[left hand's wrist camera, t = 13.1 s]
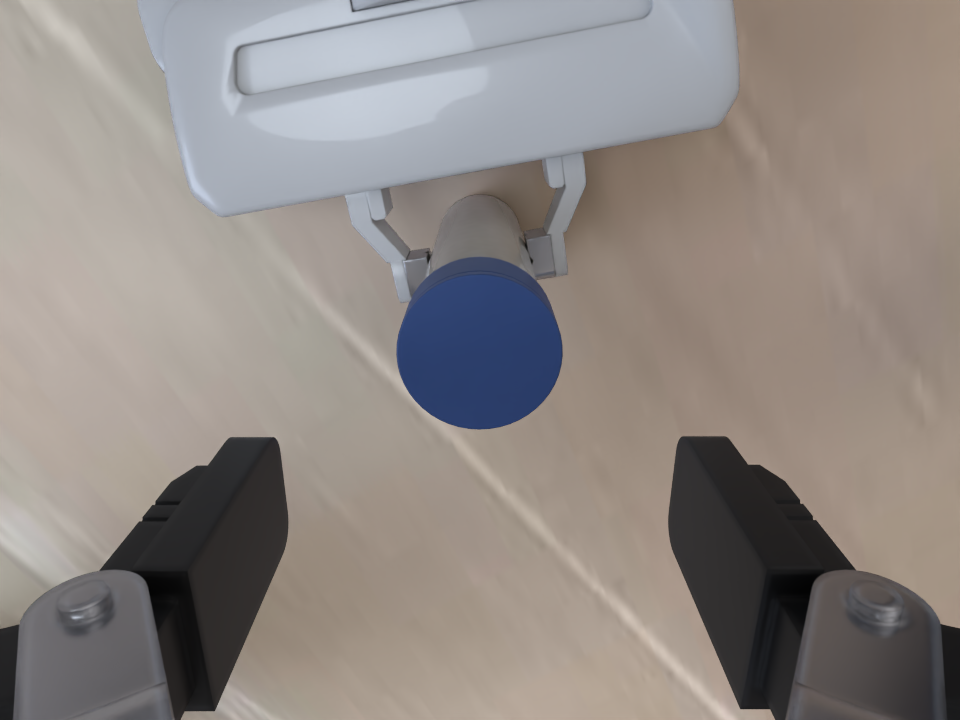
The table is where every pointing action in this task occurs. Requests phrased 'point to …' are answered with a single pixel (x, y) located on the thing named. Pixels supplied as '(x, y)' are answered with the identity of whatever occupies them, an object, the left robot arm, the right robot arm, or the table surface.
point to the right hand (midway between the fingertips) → (484, 285)
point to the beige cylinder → (480, 234)
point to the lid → (479, 344)
